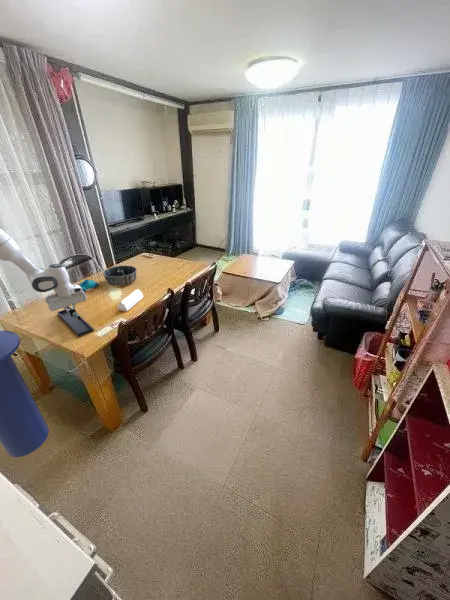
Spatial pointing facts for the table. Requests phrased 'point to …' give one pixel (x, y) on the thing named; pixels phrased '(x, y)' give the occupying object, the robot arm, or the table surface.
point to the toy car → (88, 285)
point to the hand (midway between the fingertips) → (71, 311)
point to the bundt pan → (120, 275)
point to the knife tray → (75, 323)
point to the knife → (74, 313)
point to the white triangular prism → (130, 300)
